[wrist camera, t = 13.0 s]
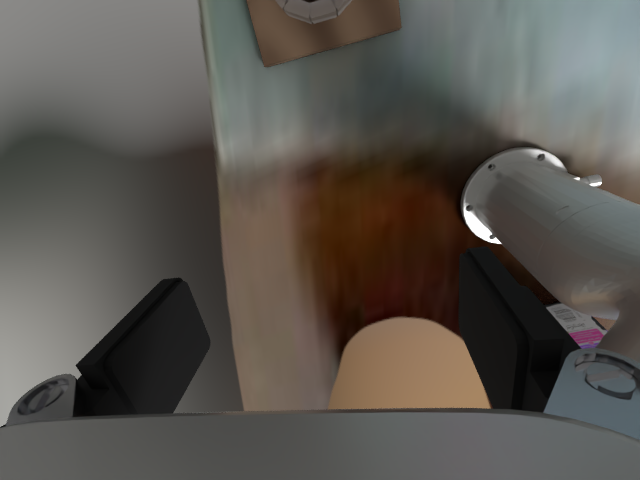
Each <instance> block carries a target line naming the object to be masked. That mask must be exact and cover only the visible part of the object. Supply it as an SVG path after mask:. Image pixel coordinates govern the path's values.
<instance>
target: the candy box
mask: <svg viewBox="0 0 640 480" xmlns="http://www.w3.org/2000/svg"><path fill="white" fill-rule="evenodd" d="M544 306H545V307H546V308H547V309H548V311H549V312H550V313H551V314H552V315H553V316H554V317H555V319H556V320H557V321H558V322H559V323H560V324H561V325H562V327H563V328H564V329H565V330H566V331H567V332H568V333H569V335H570V336H571V337H572V338H573V339H574V340H575V342H576V343H577V344H578V345H579V346H580V347H581V348H582V349H584V348H595V347H596V346H597V344H598V343H599V342H600V341H601V339H602V337H603V336H604V335H605V334H606V333H607V332H608V331H607V330H606V329H605V328H604V327H603V326H602V325H601V324H600V323H599V322H598V321H597V320H596V319H595V318H593V317H592V316H590V315H586V314H583V313H580V312H578V311H576V310H573V309H571V308H569V307H568V306H566V305H564V304H563V303H561V302H559V303H554V304H549V305H544Z"/></svg>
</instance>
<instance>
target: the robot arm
mask: <svg viewBox="0 0 640 480" xmlns="http://www.w3.org/2000/svg"><path fill="white" fill-rule="evenodd" d="M538 155H539V156H538ZM537 156H538V157H537ZM490 164H491V166H490V167H489V168H488V166H489V165H490ZM601 183H602V179H601V177H600V176H599V175H592V176H586V177H583V178H579V177H577V176H574V175H571V174H569V173H568V172H567V169H566V168H565V166H564V165H563V163H562V162H561V161H560V160H559V159H558V158H557V157H556V156H555V155H553V154H551V153H549V152H547V151H544V150H541V149H538V148H532V147H517V148H512V149H508V150H505V151H502V152H500V153H497V154H496V155H494V156H492V157H490V158H489V159H487V160H486V161H485V162H483V163H482V164H481V165H480V166H479V167H478V168H477V169H476V170H475V171H474V172H473V173H472V175H471V176H470V178H469V179H468V181H467V182H466V185H465V187H464V189H463V192H462V197H461V213H462V217H463V219H464V221H465V223H466V225H467V226H468V227H469V229H470V230H471V231H472V232H473V233H474V234H475V235H476V236H478V237H480V238H481V239H483V240H485V241H488V242H491V243H497V244H502V245H503V246H504V247H505V248H506V249H507V250H508V251H509V252H510V253H511V254H512V255H513V256H514V257H515V258H516V259H517V260H518V261H519V262H520V263H521V264H522V265H523V266H524V267H525V268H526V269H527V270H528V271H529V272H530V273H531V274H532V275H533V276H534V277H535V278H536V279H537V280H538V281H539V282H540V283H541V284H542V285H543V286H544V287H545V288H546V289H547V290H548V291H549V292H550V293H551V294H552V295H553V296H554V297H555V298H556V299H557V300H559V301H560V302H561V303H563V304H564V305H566V306H568V307H569V308H571V309H573V310H576V311H578V312H580V313H583V314H586V315H590V316H594V317H599V318H604V319H612V320H616V322H615V323H614V325H613V326H612V327H611V328H610V329H609V331H608V332H607V333H606V334H605V335H604V336H603V337H602V339H601V341H600V342H599V343H598V344H597V346H596V347H595V348H584V349H582V348H581V347H580V346H579V345H578V344H577V343H576V342H575V340H574V339H573V338H572V337H571V336H570V335H569V333H568V332H567V331H566V330H565V329H564V328H563V327H562V325H561V324H560V323H559V322H558V321H557V320H556V319H555V317H554V316H553V315H552V314H551V313H550V312H549V311H548V309H547V308H546V307H545V306H544V305H543V304H542V302H541V301H540V300H539V299H538V298H537V297H536V296H535V294H534V293H533V292H532V291H531V290H530V289H529V288H528V287H526V286H520V285H519V284H518V282H517V281H516V280H515V279H514V278H513V276H512V275H511V274H510V273H509V272H508V271H507V269H506V268H505V267H504V266H503V265H502V263H501V262H500V261H499V260H498V259H497V257H496V256H495V255H494V254H493V253H492V251H491V250H490V249H489V248H488V247H478V248H468V249H467V250H466V253H464V254H460V264H459V328H460V332H461V335H462V337H463V340H464V342H465V344H466V346H467V349H468V351H469V353H470V356H471V358H472V360H473V363H474V365H475V367H476V370H477V372H478V374H479V377H480V379H481V381H482V384H483V386H484V388H485V390H486V393H487V395H488V397H489V400H490V402H491V404H492V407H493V409H482V408H393V409H391V408H390V409H336V410H335V409H334V410H286V411H244V412H208V413H207V412H204V413H173V412H174V410H175V409H176V407H177V405H178V403H179V401H180V400H181V398H182V396H183V394H184V393H185V391H186V389H187V387H188V385H189V384H190V382H191V380H192V378H193V377H194V375H195V373H196V371H197V369H198V368H199V366H200V364H201V362H202V361H203V359H204V357H205V355H206V353H207V352H208V350H209V347H210V338H209V335H208V333H207V330H206V328H205V325H204V323H203V320H202V318H201V316H200V313H199V311H198V308H197V306H196V303H195V301H194V298H193V296H192V293H191V291H190V288H189V286H188V284H187V283H186V282H185V281H183V280H182V279H181V278H171V279H163V280H162V281H160V282H159V284H157V285H156V286H155V287H154V288H153V289H152V290H151V291H150V292H149V293H148V294H147V295H146V296H145V297H144V298H143V299H142V300H141V301H140V302H139V303H138V304H137V305H136V306H135V307H134V308H133V309H132V310H131V311H130V312H129V313H128V314H127V315H126V316H125V317H124V318H123V319H122V320H121V321H120V322H119V323H118V324H117V325H116V326H115V327H114V328H113V329H112V330H111V331H110V332H109V333H108V334H107V335H106V336H105V337H104V338H103V339H102V340H101V341H100V342H99V343H98V344H97V345H96V346H95V347H94V348H93V349H92V350H91V351H90V352H89V353H88V354H87V355H86V356H85V357H84V358H83V359H82V360H81V361H79V363H78V364H76V367H77V368H78V369H79V371H80V373H81V374H82V375H81V376H80V378H79V379H78V380H77V379H76V378H75V376H73V375H71V374H62V375H58V376H55V377H52V378H50V379H47V380H45V381H44V382H42V383H40V384H38V385H36V386H35V387H34V388H32V389H31V390H29V391H28V392H27V393H26V394H24V395H23V396H22V397H21V398H20V399H19V400H18V401H17V402H16V404H15V405H14V406H13V408H12V409H11V411H10V414H9V417H8V420H7V423H6V424H5V425H3V426H1V427H0V480H640V205H639V204H636V203H633V202H631V201H628V200H626V199H623V198H621V197H618V196H616V195H614V194H611V193H609V192H608V191H604V190H601V189H599V188H596V187H597V186H600V185H601ZM468 205H469V206H468ZM467 206H468V207H467Z"/></svg>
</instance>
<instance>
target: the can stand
mask: <svg viewBox="0 0 640 480" xmlns="http://www.w3.org/2000/svg"><path fill="white" fill-rule="evenodd" d="M246 1H247V5H248V9H249V12H250V16H251V20H252V23H253V27H254V30H255V34H256V38H257V41H258V45H259V49H260V52H261V56H262V60H263V63H264V67H271V66H274V65H278V64H281V63H285V62H288V61H292V60H295V59H299V58H302V57H306V56H309V55H313V54H316V53H320V52H323V51H327V50H331V49H334V48H338V47H341V46H345V45H348V44H352V43H355V42H359V41H362V40H366V39H369V38H373V37H376V36H380V35H383V34H387V33H390V32H394V31H397V30H400V29H401V18H400V9H399V0H246Z"/></svg>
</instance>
